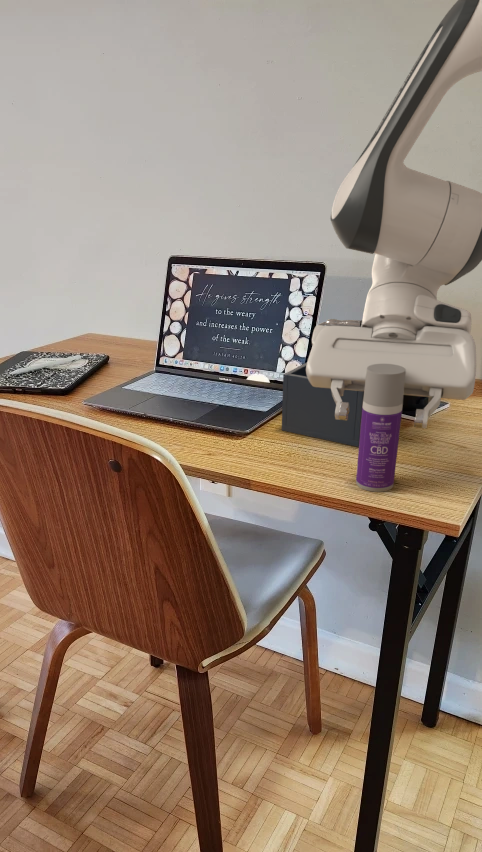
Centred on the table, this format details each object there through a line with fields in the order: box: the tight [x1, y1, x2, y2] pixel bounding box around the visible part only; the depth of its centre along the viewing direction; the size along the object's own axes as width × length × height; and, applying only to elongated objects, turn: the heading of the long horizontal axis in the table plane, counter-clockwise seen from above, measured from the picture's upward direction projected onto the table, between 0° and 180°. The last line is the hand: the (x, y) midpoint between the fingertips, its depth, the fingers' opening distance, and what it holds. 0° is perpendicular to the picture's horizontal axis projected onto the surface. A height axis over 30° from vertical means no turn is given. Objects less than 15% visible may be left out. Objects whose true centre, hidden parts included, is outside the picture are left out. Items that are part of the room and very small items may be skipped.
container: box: [355, 364, 406, 493], centre depth 84 cm, size 5×5×15 cm
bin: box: [281, 362, 364, 448], centre depth 104 cm, size 13×13×9 cm
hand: (379, 422), depth 83 cm, fingers open, 8 cm apart
